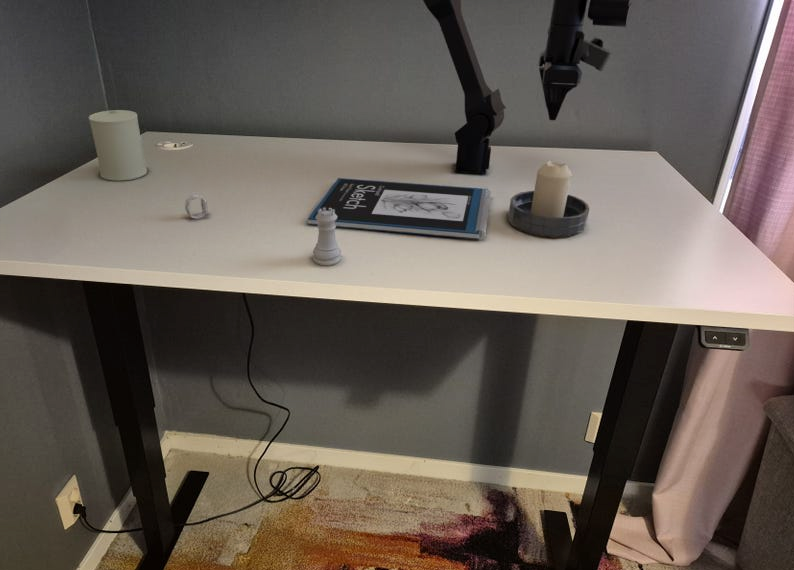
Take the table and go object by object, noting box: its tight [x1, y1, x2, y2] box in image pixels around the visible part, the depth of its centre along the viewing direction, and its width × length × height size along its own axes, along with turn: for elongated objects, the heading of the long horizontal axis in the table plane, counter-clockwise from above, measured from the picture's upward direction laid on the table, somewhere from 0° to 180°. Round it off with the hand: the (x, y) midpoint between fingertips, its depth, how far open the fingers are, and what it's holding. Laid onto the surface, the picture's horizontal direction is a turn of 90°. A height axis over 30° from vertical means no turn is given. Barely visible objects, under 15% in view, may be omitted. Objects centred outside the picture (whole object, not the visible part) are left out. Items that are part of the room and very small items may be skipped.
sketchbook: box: [307, 177, 492, 241], centre depth 115 cm, size 22×30×2 cm
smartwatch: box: [184, 194, 209, 220], centre depth 111 cm, size 4×2×4 cm, turn 118°
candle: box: [531, 160, 573, 217], centre depth 108 cm, size 6×6×10 cm
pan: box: [507, 190, 590, 238], centre depth 110 cm, size 13×13×4 cm
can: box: [88, 109, 148, 182], centre depth 128 cm, size 9×9×12 cm
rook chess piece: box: [312, 208, 342, 267], centre depth 96 cm, size 4×4×8 cm
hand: (550, 114), depth 122 cm, fingers open, 9 cm apart
